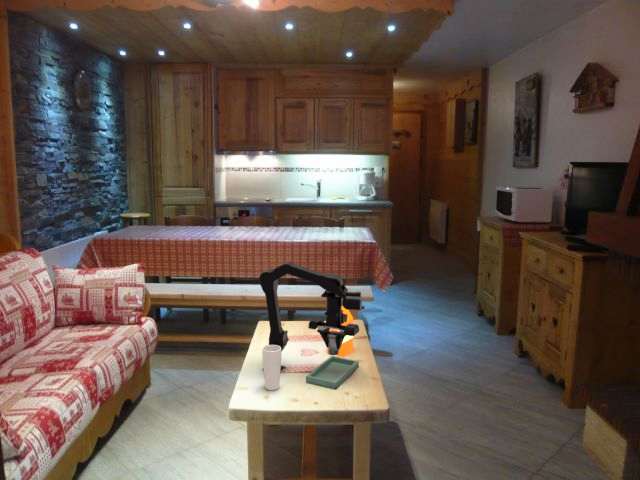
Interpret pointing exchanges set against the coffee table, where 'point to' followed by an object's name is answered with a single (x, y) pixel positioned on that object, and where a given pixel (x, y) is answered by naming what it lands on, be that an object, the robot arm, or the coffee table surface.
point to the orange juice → (348, 340)
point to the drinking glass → (271, 366)
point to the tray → (332, 372)
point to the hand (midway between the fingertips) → (333, 348)
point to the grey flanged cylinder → (332, 342)
